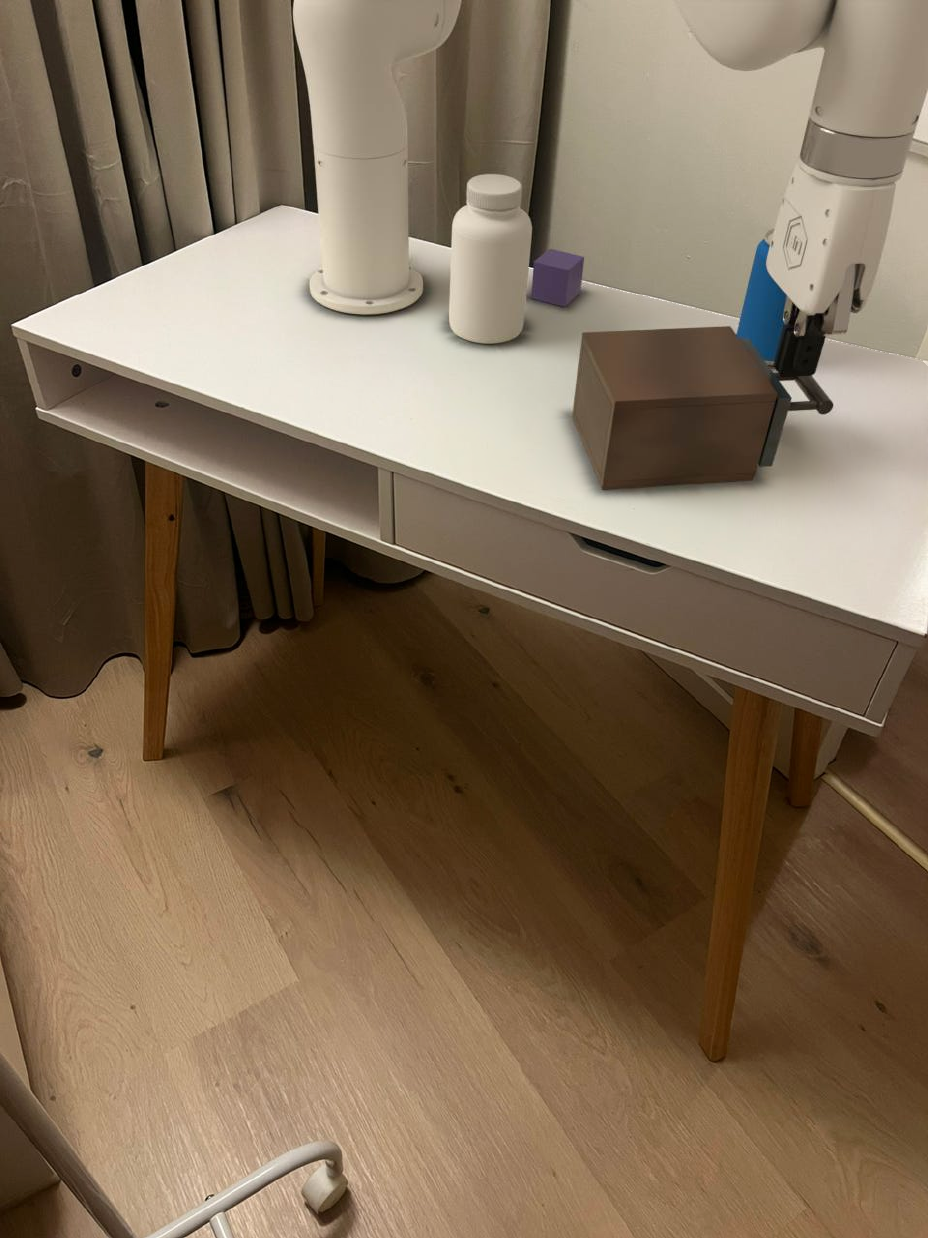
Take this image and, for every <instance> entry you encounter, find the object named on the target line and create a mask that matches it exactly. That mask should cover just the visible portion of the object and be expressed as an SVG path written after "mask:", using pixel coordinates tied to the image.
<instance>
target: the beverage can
mask: <svg viewBox="0 0 928 1238" xmlns="http://www.w3.org/2000/svg"><path fill="white" fill-rule="evenodd" d="M774 229H775V227H774V228H771V229H769V230H767V231H766V232H765V233H764V235H763V239H762V240H761V241H760V242H759V243H758V244H757V246H756V250H755V254H754V258H753V262H752V267H751V271H750V274H749V279H748V282H747V288H746V291H745V295H744V300H743V304H742V309H741V313H740V317H739V322H738V326H737V330H736V333H735V334H736V335H737V337H738V338H749V340H750V341H751V343H752V344H753V345H754V347H755V348H756V349H757V351H758V352H759V354H760V355H761V356H762V358H763V359H764V360H765V362H766V363H767V365H768V366H773V365H774V361H775V357H776V353H777V349H778V345H779V341H780V337H781V333H782V330H783V326H788V325H789V324H785V323H784V321H783V314H784V308H785V303H786V297H787V295H786V294H785V292H784V291H783V290H782V289H781V288H780V287H779V285H778V284H777V283H776V282H775V281H774V279H773V278H772V277H771V275H770V274H769V272H768V270H767V266H766V261H767V256H768V252H769V248H770V244H771V240H772V236H773V232H774Z"/></svg>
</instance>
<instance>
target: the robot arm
mask: <svg viewBox="0 0 928 1238" xmlns="http://www.w3.org/2000/svg"><path fill="white" fill-rule="evenodd" d="M673 1H674V3H675V4H676V7H677V8H678V10H679V12H680V14H681V16H682V18H683V19H684V22H685V23H686V25H687V27H688V29H689V30H690V32H691V34H692V35H693V36H694V38H695V40H696V41H697V42H698V44H699V45H700V46H701V47H702V48H703V50H704V51H705V52H706V53H707V54H708V55H709V56H710V57H711V59H713V60H715V61H716V62H717V63H718V64H720V65H722V66H724V67H726V68H729V69H731V70H734V71H741V72H753V71H757V70H758V71H759V70H761V69H764V68H767V67H770V66H772V65H774V64H776V63H778V62H780V61H782V60H784V59H786V58H788V57H789V56H791V55H795V54H799V53H803V52H807V51H810V50H814V49H819V48H820V49H823V51H824V52H823V55H822V60H821V65H820V69H819V73H818V77H817V80H816V84H815V85H816V86H815V89H814V93H813V98H812V101H811V106H810V110H809V116H808V120H807V124H806V128H805V132H804V136H803V140H802V144H801V147H800V152H799V156H798V158H797V161H796V163H795V166H794V169H793V171H792V173H791V175H790V178H789V181H788V183H787V185H786V186H787V187H786V190H785V191H784V195H783V199H782V202H781V205H780V208H779V212H778V214H777V219H776V223H775V225H774V228H775V229H774V228H773V229H774V232H773V236H772V240H771V244H770V248H769V252H768V256H767V261H766V266H767V270H768V272H769V274H770V275H771V277H772V278H773V279H774V281H775V282H776V283H777V284H778V285H779V287H780V288H781V289H782V290H783V291H784V292H785V294H786V295H787V297H786V303H785V308H784V314H783V321H784V323H785V324H789V325H788V326H783V330H782V333H781V337H780V341H779V345H778V349H777V353H776V357H775V361H774V365H772V366H773V368H774V369H775V371H776V372H778V373H779V375H780V376H781V377H799V376H814V375H815V374H816V372H817V368H818V364H819V362H820V358H821V354H822V351H823V349H824V344H825V341H826V337H829V336H830V335H831V336H832V335H845V334H846V333H847V332H848V329H849V322H850V317H851V314H858V313H860V312H861V311H862V310H863V309H864V308H865V306H866V304H867V302H868V300H869V297H870V294H871V291H872V289H873V286H874V283H875V280H876V276H877V274H878V270H879V267H880V262H881V259H882V255H883V251H884V246H885V243H886V240H887V235H888V230H889V226H890V221H891V216H892V211H893V205H894V199H895V194H896V189H897V188H896V187H897V184H896V182H898V181H899V180H900V179H901V177H902V175H903V172H904V168H905V164H906V162H907V158H908V156H909V151H910V149H911V146H912V142H913V138H914V136H915V133H916V129H917V126H918V123H919V119H920V116H921V114H922V110H923V107H924V104H925V100H926V97H927V94H928V0H673ZM462 2H463V1H462V0H293V4H292V5H293V6H292V20H293V28H294V34H295V38H296V42H297V46H298V50H299V54H300V58H301V61H302V66H303V70H304V74H305V80H306V86H307V92H308V100H309V109H310V118H311V130H312V131H311V132H312V144H313V155H314V157H313V158H314V169H315V171H314V172H315V184H316V194H317V195H316V197H317V212H318V226H319V239H320V240H319V241H320V251H321V252H320V254H321V265H322V266H320V267H319V268H317V269H316V270H315V271H314V272H313V273H312V275H311V276H310V278H309V293H310V295H311V297H312V298H313V299H314V300H315V301H316V302H318V303H319V304H320V305H322V306H323V307H325V308H328V309H330V310H333V311H336V312H340V313H346V314H351V315H379V314H380V315H381V314H386V313H387V314H388V313H391V312H395V311H396V312H397V311H399V310H403V309H405V308H407V307H409V306H411V305H413V304H414V303H415V302H417V301H418V300H419V299H420V297H421V296H422V294H423V293H424V279H423V276H422V275H421V274H420V272H419V271H418V270H416V269H415V268H414V267H412V266H411V265H410V248H409V247H410V241H409V238H410V237H409V232H410V231H409V156H408V155H409V151H408V150H409V149H408V148H409V147H408V143H409V142H408V141H409V140H408V120H407V112H406V108H405V104H404V102H403V99H402V96H401V93H400V91H399V89H398V87H397V84H396V82H395V79H394V76H393V72H392V67H393V66H396V65H398V64H399V63H403V62H406V61H409V60H413V59H414V58H418V57H421V56H424V55H426V54H427V55H428V53H431V52H433V51H435V50H437V49H438V48H439V47H441V46H442V45H443V44H444V43H445V42H446V41H447V39H448V38H449V37H450V35H451V34H452V32H453V30H454V27H455V25H456V22H457V20H458V16H459V13H460V9H461V5H462Z"/></svg>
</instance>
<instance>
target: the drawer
mask: <svg viewBox="0 0 928 1238" xmlns="http://www.w3.org/2000/svg"><path fill="white" fill-rule="evenodd" d="M739 339H740V341H741V342H742V344H743V345H744V346H745V348H746V349H747V351H748V352H749V353H750V355H751V356H752V358H753V359H754V360H755V362H756V363H757V365H758V366H759V367H760V369H761V370H762V372H763V373H764V374H765V376H766V377H767V379H768V380H769V381H770V383H771V384H772V386H773V387H774V388H775V390H776V391H777V393H778V394H777V398H776V401H775V405H774V408H773V412H772V416H771V419H770V423H769V426H768V430H767V434H766V437H765V441H764V445H763V448H762V452H761V455H760V459H759V463H758V467H759V468H766V467H773V464H774V462H775V457H776V454H777V451H778V447H779V444H780V440H781V436H782V433H783V429H784V427H785V423H786V419H787V416H788V413H789V412H798V411H799V412H800V411H801V412H802V411H817V413H818V414H819V415H822V416H823V415H827V414H829V413H830V412H831V411H832V410H833V408H834V402H833V400H832V399H831V398H830V397H829V396H828V394H827V392H825V391H824V389H823V388H822V387H821V385H820V383H819V382H818V381H817V380H816V379H815V378H814V377H813V376H814V375H812V376H799V377H781V376H780V375H779V373H778V371H776V372H774V371H773V370H772V368H771V367H770V365H767V363H766V362H765V360H764V359H763V358H762V356H761V355H760V354H759V352H758V351H757V349H756V348H755V347H754V345H753V344H752V343H751V341H750V340H749V338H739ZM788 381H789V382H790V381H794V382H795V383H796V385H797V387H798V388H799V389H800V390H801V392H802V393H803V394H804V396H805V397H806V398H807V400H803V401H792V399H793V398H792V396H791V394H790V393H789V392H788V390H787V389H786V388H785V387H784V385H783V383H782V382H788Z"/></svg>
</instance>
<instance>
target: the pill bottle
mask: <svg viewBox="0 0 928 1238" xmlns="http://www.w3.org/2000/svg"><path fill="white" fill-rule="evenodd" d="M522 192H523V186H522V183H521V182H520V181H519V180H518V179H516V178H514V177H512V176H509V175H506V174H505V175H504V174H498V173H485V174H484V173H483V174H478V175H475V176H472V177H471V178H470V179H469V180H468V181H467V183H466V205H463V206H462V207H461V208H460V209H459V210H457V212H456V213H455V215H454V217H453V220H452V223H451V224H452V225H451V245H450V247H451V248H450V249H451V250H450V275H449V277H450V280H449V282H450V283H449V305H448V306H449V307H448V319H449V320H448V321H449V323H448V324H449V327H450V329H451V331H452V332H453V333H454V334H455V335H456V336H458V337H459V338H461V339H463V340H466V341H469V342H472V343H479V344H500V343H505V342H509V341H511V340H513V339H515V338H517V337H518V336H519V335H520V334H521V333H522V331H523V328H524V322H525V316H526V315H525V314H526V305H527V304H526V302H527V291H528V282H529V281H528V280H529V268H530V258H531V246H532V234H533V225H532V221H531V218H530V216H529V214H528V213H527V212H526V211H525V210H523V209H522V208H521V205H522V202H521V201H522V195H523V193H522Z"/></svg>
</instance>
